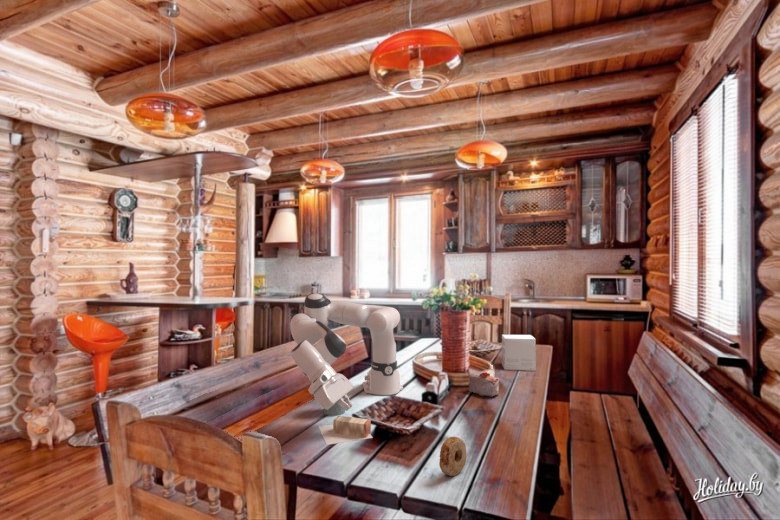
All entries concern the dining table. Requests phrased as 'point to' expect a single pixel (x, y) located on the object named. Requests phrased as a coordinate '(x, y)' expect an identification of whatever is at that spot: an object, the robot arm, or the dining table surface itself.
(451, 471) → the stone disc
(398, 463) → the dining table surface
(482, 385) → the food item
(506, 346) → the supplement box
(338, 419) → the birch block
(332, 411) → the grey green cup
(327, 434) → the felt mat
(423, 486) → the dining table surface
